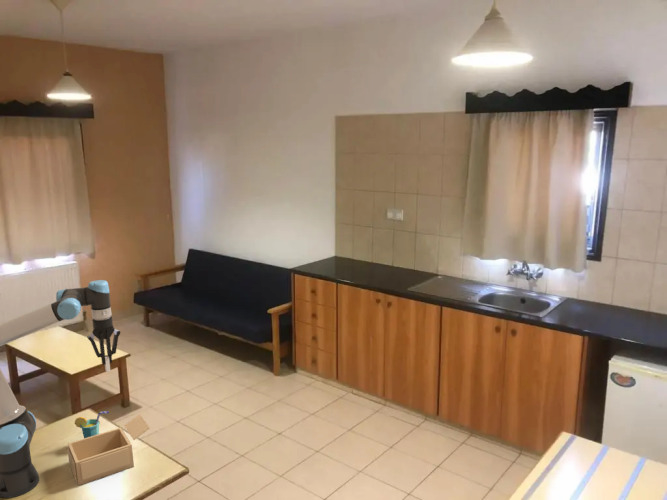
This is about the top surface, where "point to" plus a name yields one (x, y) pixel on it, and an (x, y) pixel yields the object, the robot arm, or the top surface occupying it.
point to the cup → (89, 425)
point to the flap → (137, 427)
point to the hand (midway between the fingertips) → (107, 370)
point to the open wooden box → (100, 456)
